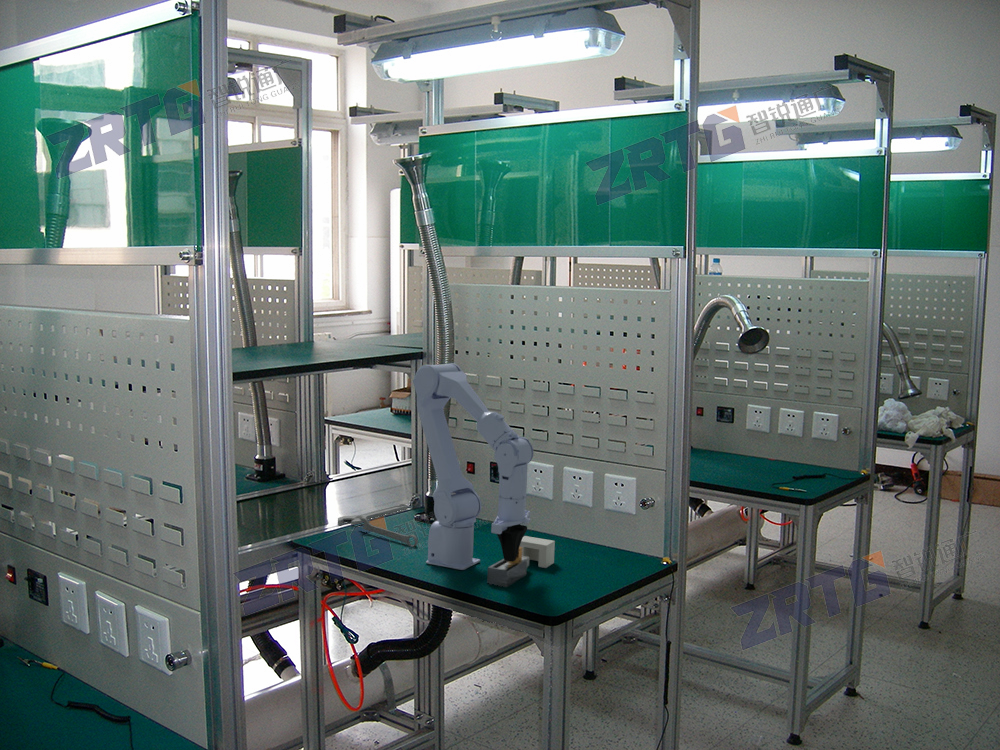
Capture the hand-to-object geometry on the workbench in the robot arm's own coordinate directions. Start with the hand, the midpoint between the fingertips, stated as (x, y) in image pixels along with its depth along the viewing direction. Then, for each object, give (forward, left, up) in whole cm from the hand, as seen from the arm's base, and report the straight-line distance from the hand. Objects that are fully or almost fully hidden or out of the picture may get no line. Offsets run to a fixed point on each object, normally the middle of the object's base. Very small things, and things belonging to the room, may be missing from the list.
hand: (509, 560), depth 191 cm
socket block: (0, +13, -4) cm, 14 cm away
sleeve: (0, -1, -4) cm, 4 cm away
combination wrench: (-38, +11, -4) cm, 40 cm away
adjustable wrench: (-52, +27, -4) cm, 59 cm away
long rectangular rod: (0, +1, -3) cm, 3 cm away
